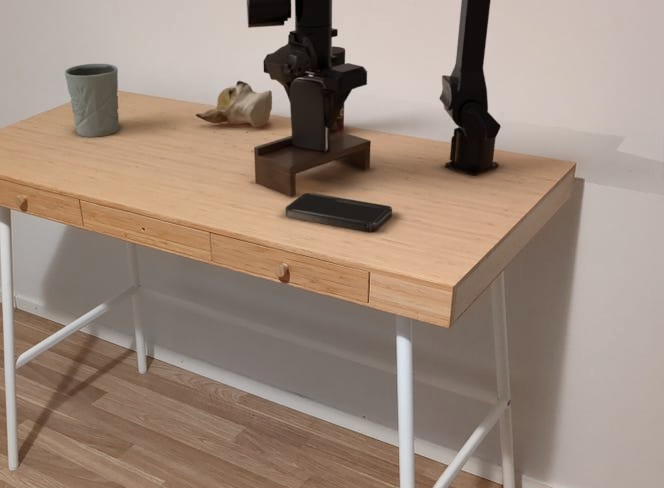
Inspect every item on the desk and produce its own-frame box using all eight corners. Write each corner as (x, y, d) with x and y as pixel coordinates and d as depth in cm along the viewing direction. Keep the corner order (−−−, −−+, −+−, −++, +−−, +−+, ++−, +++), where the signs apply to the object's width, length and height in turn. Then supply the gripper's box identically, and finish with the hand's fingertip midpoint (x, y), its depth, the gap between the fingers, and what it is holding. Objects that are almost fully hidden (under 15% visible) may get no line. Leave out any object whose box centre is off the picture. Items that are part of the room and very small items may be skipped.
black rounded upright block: (337, 146, 149) (337, 76, 143) (324, 153, 146) (324, 82, 140) (303, 140, 153) (302, 72, 147) (289, 146, 150) (288, 77, 144)
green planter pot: (63, 134, 179) (54, 73, 173) (94, 120, 186) (87, 60, 180) (103, 140, 174) (95, 77, 168) (134, 125, 181) (127, 65, 175)
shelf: (369, 169, 153) (371, 133, 150) (290, 197, 144) (289, 160, 141) (333, 156, 159) (333, 122, 156) (255, 183, 151) (253, 147, 147)
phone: (374, 225, 130) (282, 209, 137) (373, 233, 131) (283, 215, 138) (394, 206, 136) (306, 191, 143) (394, 213, 136) (306, 198, 143)
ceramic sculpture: (256, 89, 167) (190, 86, 174) (259, 135, 171) (195, 130, 179) (283, 75, 174) (219, 73, 182) (286, 120, 179) (223, 116, 186)
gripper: (235, 24, 141) (240, 122, 150) (316, 41, 128) (316, 147, 137) (288, 13, 147) (290, 107, 155) (371, 28, 134) (368, 130, 142)
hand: (313, 123), depth 147 cm, fingers closed on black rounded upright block, 7 cm apart
